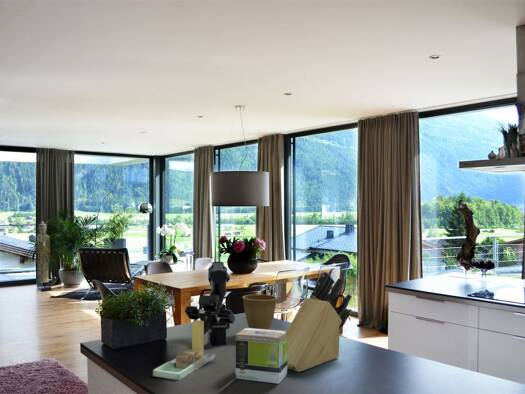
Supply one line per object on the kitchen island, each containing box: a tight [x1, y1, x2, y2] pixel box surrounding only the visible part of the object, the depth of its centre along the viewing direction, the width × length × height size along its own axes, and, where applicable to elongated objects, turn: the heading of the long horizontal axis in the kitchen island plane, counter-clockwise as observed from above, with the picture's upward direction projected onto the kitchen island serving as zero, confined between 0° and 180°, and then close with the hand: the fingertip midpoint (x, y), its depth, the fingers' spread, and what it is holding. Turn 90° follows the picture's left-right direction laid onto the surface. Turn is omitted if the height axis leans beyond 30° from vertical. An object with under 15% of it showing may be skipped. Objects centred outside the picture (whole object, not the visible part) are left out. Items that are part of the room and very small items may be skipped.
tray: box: [152, 361, 194, 381], centre depth 163 cm, size 10×10×3 cm
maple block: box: [182, 348, 199, 363], centre depth 174 cm, size 4×4×4 cm
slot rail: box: [169, 352, 216, 372], centre depth 175 cm, size 16×10×3 cm, turn 159°
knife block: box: [286, 271, 353, 373], centre depth 183 cm, size 11×35×31 cm, turn 137°
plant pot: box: [242, 294, 278, 330], centre depth 219 cm, size 15×15×16 cm
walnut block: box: [175, 352, 192, 369], centre depth 170 cm, size 4×4×4 cm
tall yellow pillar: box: [191, 319, 205, 359], centre depth 178 cm, size 4×5×13 cm
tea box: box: [235, 327, 288, 384], centre depth 164 cm, size 15×10×15 cm, turn 71°
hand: (202, 334), depth 182 cm, fingers closed
